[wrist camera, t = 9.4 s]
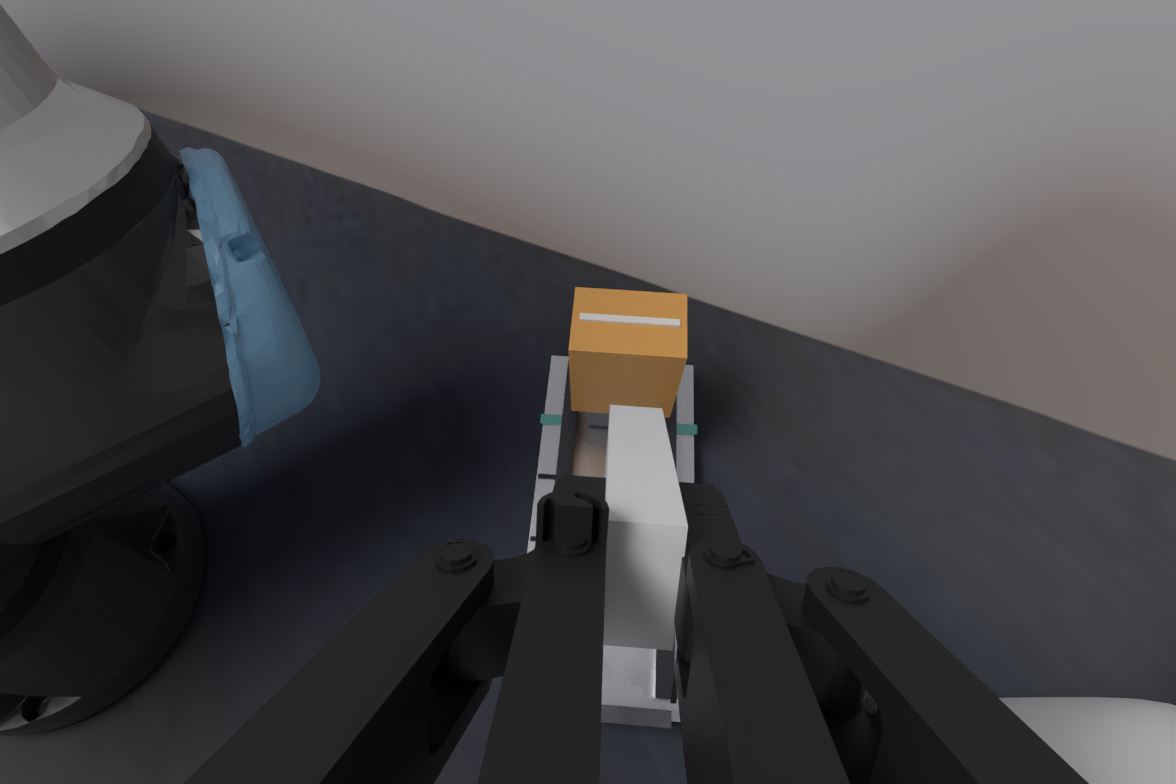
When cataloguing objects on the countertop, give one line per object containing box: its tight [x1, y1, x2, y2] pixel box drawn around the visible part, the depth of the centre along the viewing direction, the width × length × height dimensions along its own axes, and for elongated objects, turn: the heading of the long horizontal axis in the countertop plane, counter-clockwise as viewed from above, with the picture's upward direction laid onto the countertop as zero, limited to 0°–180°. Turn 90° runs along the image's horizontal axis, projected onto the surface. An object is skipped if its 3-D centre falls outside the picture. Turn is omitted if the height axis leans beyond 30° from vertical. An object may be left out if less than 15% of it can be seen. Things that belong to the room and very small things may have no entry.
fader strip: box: [527, 356, 697, 728], centre depth 37 cm, size 23×10×4 cm, turn 176°
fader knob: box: [569, 287, 687, 427], centre depth 35 cm, size 4×6×10 cm, turn 86°
